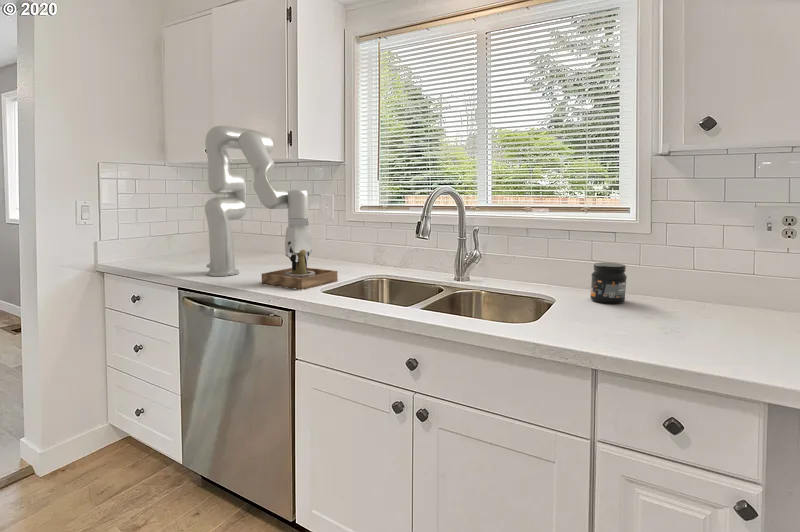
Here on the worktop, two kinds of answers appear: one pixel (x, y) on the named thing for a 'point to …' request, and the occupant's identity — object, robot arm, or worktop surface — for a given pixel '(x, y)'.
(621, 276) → the supplement container
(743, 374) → the worktop surface
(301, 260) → the cork
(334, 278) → the box
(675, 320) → the worktop surface
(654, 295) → the worktop surface
